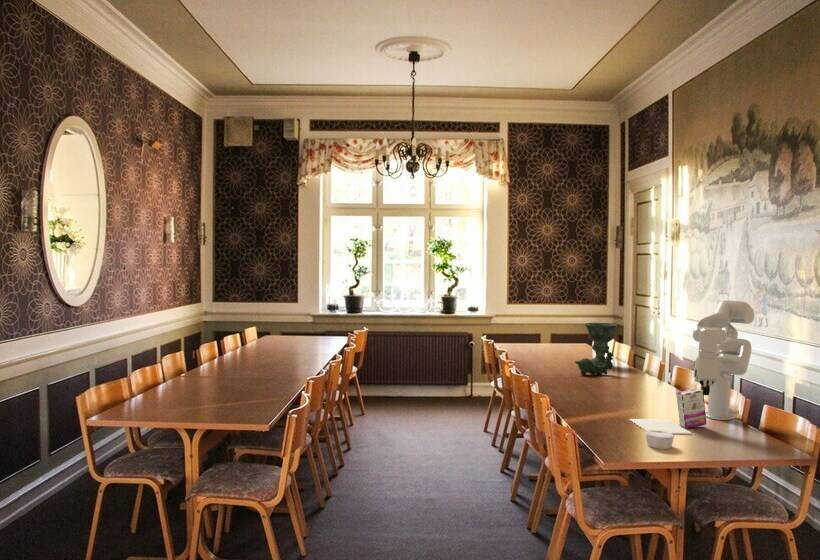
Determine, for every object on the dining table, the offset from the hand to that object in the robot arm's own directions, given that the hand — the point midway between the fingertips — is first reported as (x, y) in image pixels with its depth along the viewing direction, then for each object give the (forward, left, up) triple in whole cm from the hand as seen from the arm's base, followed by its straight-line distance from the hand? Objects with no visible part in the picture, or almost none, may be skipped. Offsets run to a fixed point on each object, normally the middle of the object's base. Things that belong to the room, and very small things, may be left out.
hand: (705, 394), depth 295 cm
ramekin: (+34, +28, -16) cm, 47 cm away
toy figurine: (+9, -127, -16) cm, 128 cm away
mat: (+21, -1, -15) cm, 26 cm away
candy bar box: (+5, -1, -15) cm, 16 cm away
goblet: (-8, -162, -16) cm, 163 cm away
